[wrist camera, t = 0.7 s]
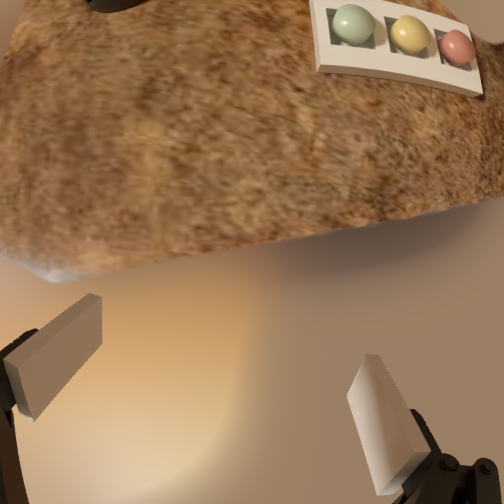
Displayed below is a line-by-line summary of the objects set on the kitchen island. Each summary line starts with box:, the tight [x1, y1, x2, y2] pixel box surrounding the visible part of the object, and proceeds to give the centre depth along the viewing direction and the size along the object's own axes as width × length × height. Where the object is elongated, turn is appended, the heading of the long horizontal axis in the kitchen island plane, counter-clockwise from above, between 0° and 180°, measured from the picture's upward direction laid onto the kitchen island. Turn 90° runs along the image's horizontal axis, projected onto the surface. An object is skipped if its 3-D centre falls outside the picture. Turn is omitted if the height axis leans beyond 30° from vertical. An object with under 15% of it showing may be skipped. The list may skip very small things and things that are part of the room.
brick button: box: [438, 30, 476, 67], centre depth 27 cm, size 5×5×3 cm
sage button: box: [331, 4, 376, 45], centre depth 28 cm, size 5×5×3 cm
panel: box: [309, 0, 483, 97], centre depth 30 cm, size 12×25×3 cm, turn 92°
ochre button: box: [389, 15, 431, 55], centre depth 27 cm, size 5×5×3 cm
